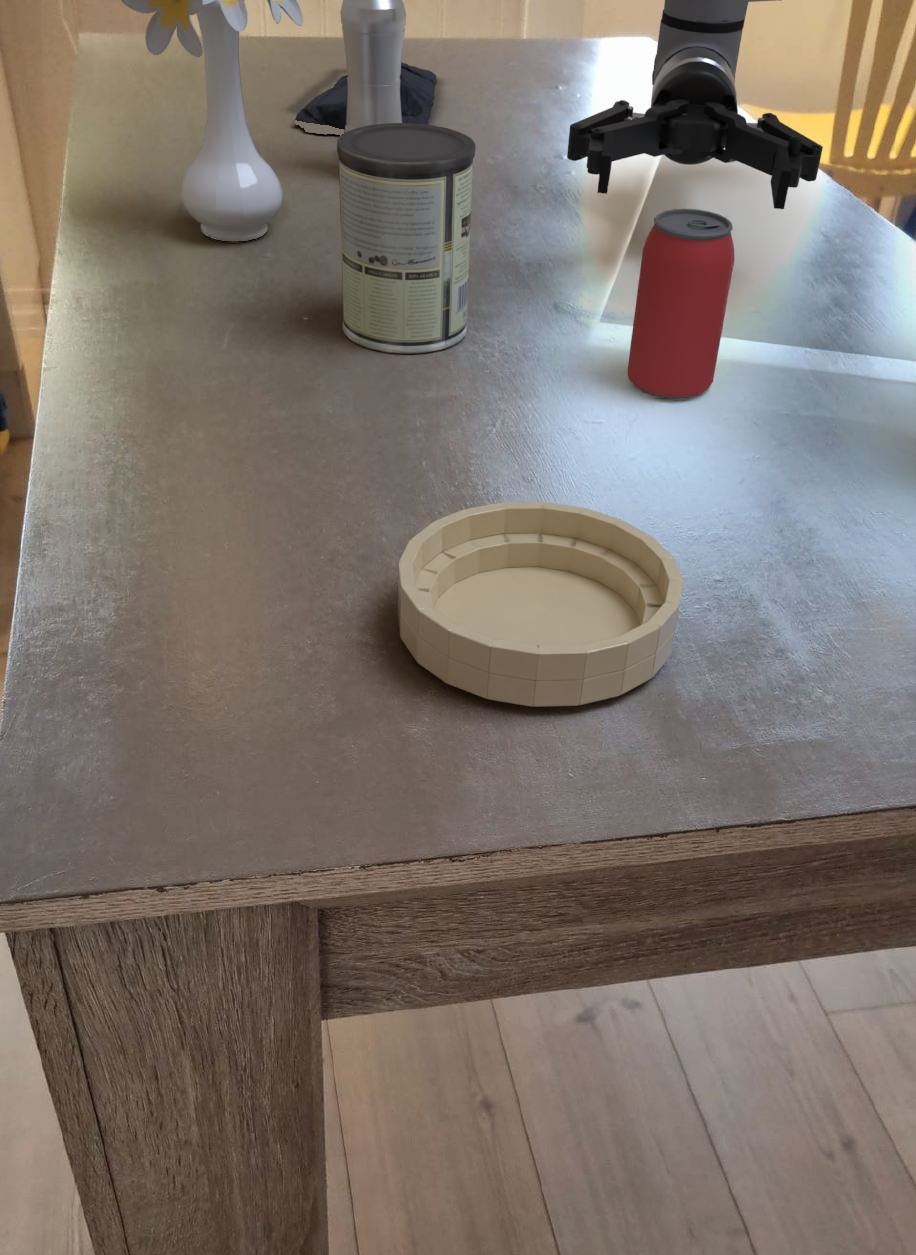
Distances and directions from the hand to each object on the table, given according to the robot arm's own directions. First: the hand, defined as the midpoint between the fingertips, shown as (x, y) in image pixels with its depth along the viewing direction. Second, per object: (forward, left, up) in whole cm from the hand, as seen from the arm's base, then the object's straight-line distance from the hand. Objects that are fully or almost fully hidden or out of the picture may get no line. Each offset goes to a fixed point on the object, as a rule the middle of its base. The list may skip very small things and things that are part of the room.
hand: (693, 182), depth 100 cm
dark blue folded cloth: (+40, -55, -12) cm, 70 cm away
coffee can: (+21, +6, -12) cm, 25 cm away
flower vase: (+41, -11, -12) cm, 45 cm away
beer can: (-1, +10, -12) cm, 15 cm away
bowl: (+3, +46, -12) cm, 47 cm away
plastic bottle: (+34, -32, -12) cm, 48 cm away
